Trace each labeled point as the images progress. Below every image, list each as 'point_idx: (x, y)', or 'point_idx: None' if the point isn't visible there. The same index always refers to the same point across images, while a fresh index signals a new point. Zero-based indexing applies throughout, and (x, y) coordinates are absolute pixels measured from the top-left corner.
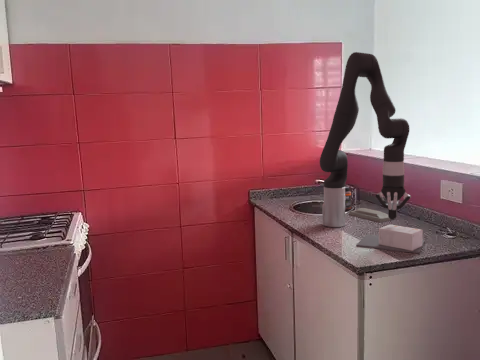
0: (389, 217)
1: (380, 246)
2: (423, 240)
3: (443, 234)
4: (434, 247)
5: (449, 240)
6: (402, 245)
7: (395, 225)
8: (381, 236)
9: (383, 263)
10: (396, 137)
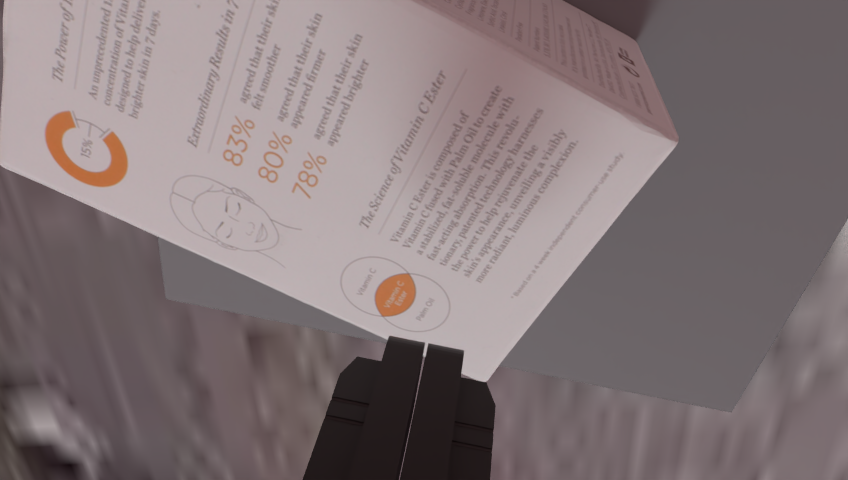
0: (475, 387)
1: None
2: (172, 276)
3: (96, 460)
4: None
5: (8, 335)
6: None
7: (399, 336)
8: (618, 61)
9: None
10: None
